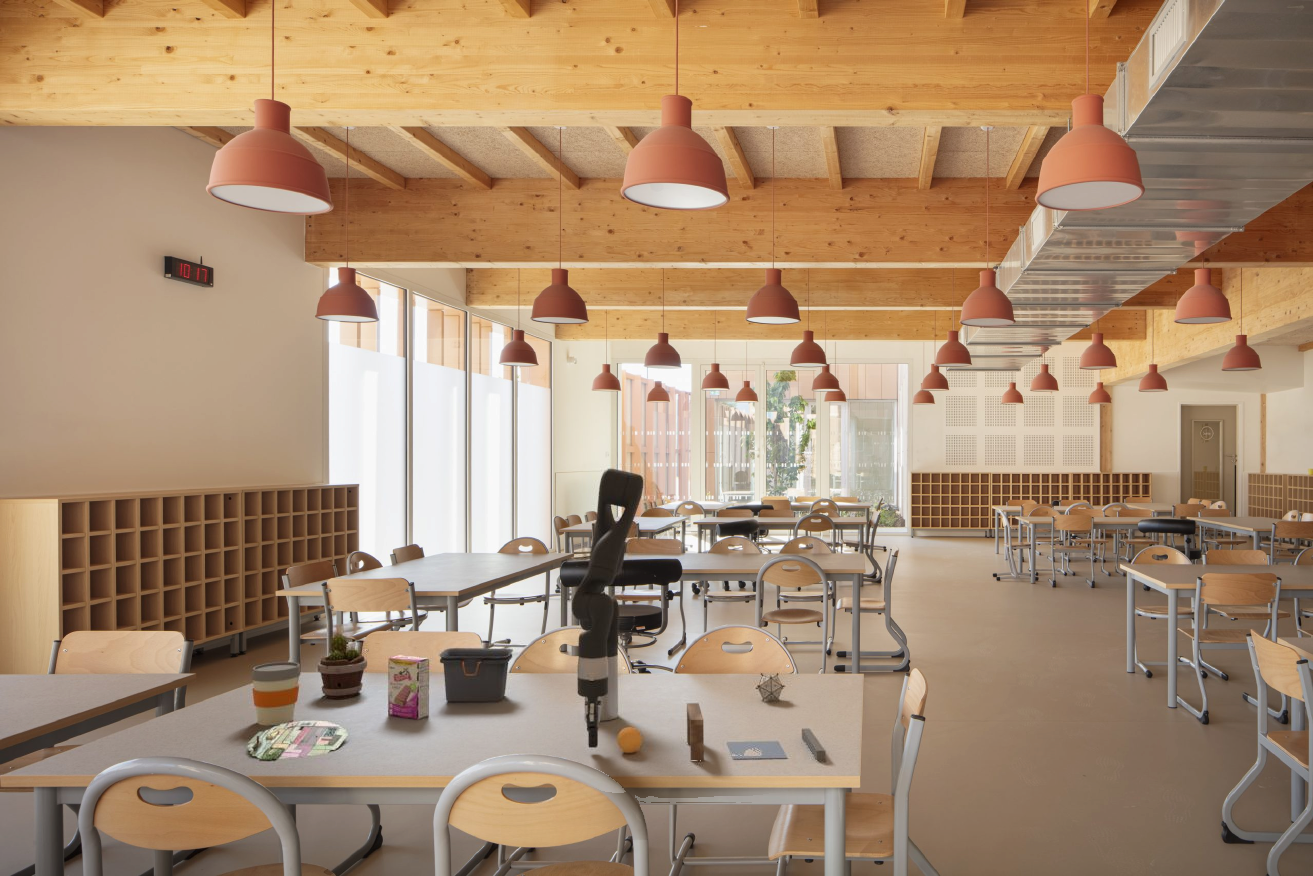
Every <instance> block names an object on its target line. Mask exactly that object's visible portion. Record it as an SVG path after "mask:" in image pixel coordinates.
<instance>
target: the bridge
mask: <svg viewBox="0 0 1313 876" xmlns="http://www.w3.org/2000/svg"><path fill="white" fill-rule="evenodd" d="M701 710H702V709H701V707H700V703H699V702H694V703H693V702H691V703H690V702H687V703H686V743H688V744H690V746H689V747H690V761H691V760H698V761H697V762H705V760H704V759H705V754H704V753H705V752H704V751H705V750H704V748H705V743H704V738H705V737H704V716H703V714H702V713H703V712H702V711H701ZM688 744H687V745H688ZM700 760H701V761H700Z"/></svg>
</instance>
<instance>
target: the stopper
mask: <svg viewBox="0 0 1313 876" xmlns="http://www.w3.org/2000/svg"><path fill="white" fill-rule="evenodd" d="M801 740H802V741H803V743H804V742H805V743H806V744H805V743H804V744H805V745H807V746H808V747H807V746H806V747H807V749H808V748H809V749H810V750H809V749H808V750H809V752H810V751H811V752H812V753H811V752H810V753H811V755H812V754H813V755H814V756H813V755H812V756H813V758H814V757H815V758H814V759H815V761H816V760H817V761H825V762H826V750H825V748H824V747H823V746H822V744H821V743H820V741H819V740H818V739H817V737H816V735H815V734H814V733H813V731H812V729H810V728H801ZM817 761H816V762H817Z"/></svg>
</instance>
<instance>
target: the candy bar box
mask: <svg viewBox="0 0 1313 876" xmlns="http://www.w3.org/2000/svg"><path fill="white" fill-rule="evenodd" d="M387 680H388V681H387V682H388V685H387V687H388V690H387V691H388V695H387V698H388V699H387V700H388V701H387V702H388V703H387V708H388V709H387V712H388V713H387V715H388V716H393V717H400V718H404V719H405V718H407V719H413V720H421V719H423V718H427V717H428V716H429V715H430V658H429V657H420V656H412V655H403V654H398V655H395V656H394V655H393V656H390V657H388V678H387Z"/></svg>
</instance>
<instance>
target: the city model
mask: <svg viewBox="0 0 1313 876" xmlns="http://www.w3.org/2000/svg"><path fill="white" fill-rule="evenodd" d="M347 731H348V730H347V729H345V728H343V727H341V725H338V723H336V724H334V723H333V722H332V723H331V722H330V721H324V720H299V721H291V722H288V723H284V724H279V725H274V726H273V727H271V728H269V729H265V730H263V731H258V732H257V733H256V734H255V735H254V736H253V737H252V738H251V739H250V740H249V741H248V742H247V743H248V745H247V748H248V751H250V752H249V754H251V756H252V757H256V758H257V759H258V761H269V760H270V761H271V760H275V761H277V760H278V759H279V760H281V759H289V758H290V759H291V758H302V757H311V756H318V755H320V756H321V755H327V754H329V752H331V751H335V750H336V749H339V747H340V746H341V745H342V743H343V742H344V740H346V738H347V736H348V735H349V733H348V732H347ZM346 732H347V733H346Z"/></svg>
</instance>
